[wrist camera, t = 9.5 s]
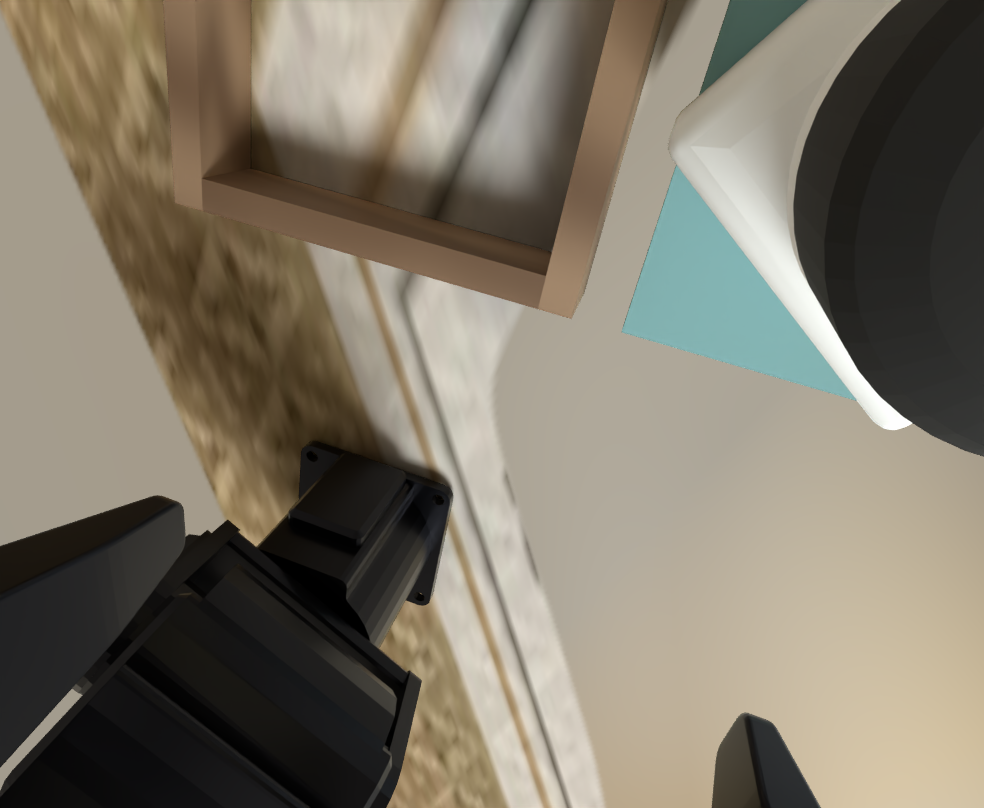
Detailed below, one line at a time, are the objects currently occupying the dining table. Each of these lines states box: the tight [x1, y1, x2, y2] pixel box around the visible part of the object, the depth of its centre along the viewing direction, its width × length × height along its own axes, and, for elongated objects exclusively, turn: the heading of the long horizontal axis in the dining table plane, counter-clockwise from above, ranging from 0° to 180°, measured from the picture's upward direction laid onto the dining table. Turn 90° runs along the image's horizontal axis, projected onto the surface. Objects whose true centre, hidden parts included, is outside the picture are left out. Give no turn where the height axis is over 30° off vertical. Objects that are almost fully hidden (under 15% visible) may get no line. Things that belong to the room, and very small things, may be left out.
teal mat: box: [622, 0, 857, 401], centre depth 16 cm, size 14×9×1 cm, turn 168°
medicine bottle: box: [668, 0, 984, 456], centre depth 11 cm, size 7×7×12 cm
